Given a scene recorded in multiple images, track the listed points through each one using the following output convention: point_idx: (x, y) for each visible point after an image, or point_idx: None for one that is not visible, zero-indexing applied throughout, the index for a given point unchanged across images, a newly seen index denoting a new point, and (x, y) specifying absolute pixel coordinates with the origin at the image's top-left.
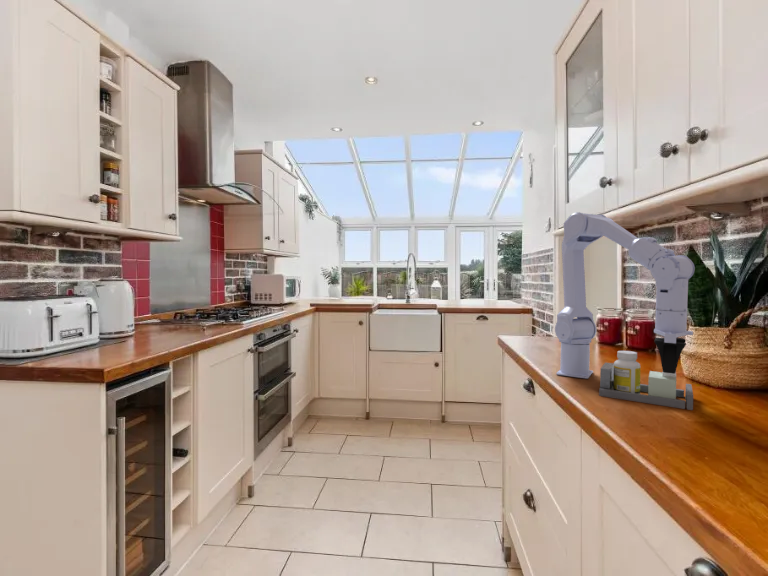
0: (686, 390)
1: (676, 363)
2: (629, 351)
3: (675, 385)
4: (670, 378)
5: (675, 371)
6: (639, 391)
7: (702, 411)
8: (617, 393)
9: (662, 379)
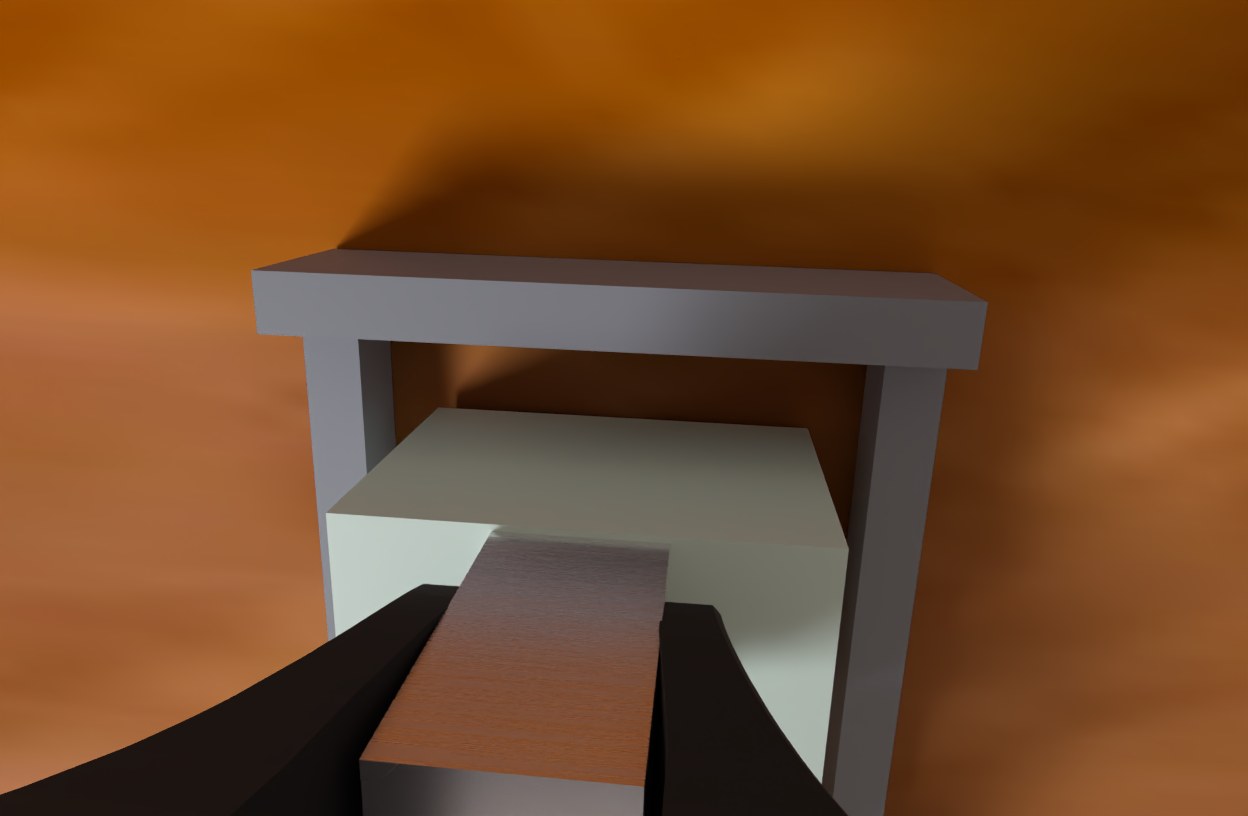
0: (606, 346)
1: (758, 709)
2: None
3: (836, 522)
4: (737, 611)
5: (710, 614)
6: None
7: (924, 178)
8: None
9: (828, 703)
